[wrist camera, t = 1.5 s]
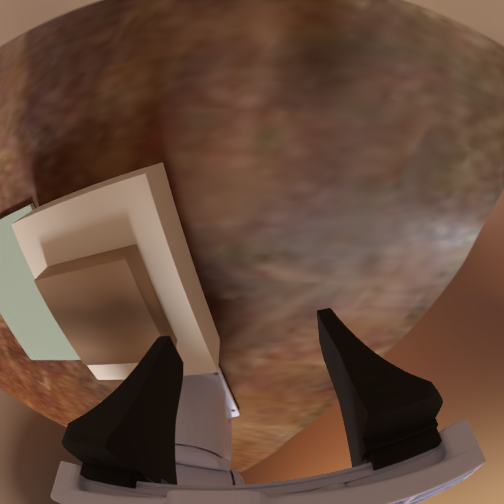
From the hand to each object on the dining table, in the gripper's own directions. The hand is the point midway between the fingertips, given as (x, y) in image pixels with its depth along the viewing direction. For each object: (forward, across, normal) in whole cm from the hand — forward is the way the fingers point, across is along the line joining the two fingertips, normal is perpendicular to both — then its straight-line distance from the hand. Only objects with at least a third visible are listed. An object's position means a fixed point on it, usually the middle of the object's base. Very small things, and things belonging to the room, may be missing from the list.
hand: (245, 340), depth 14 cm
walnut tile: (+5, +10, 0) cm, 11 cm away
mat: (+9, +23, 0) cm, 25 cm away
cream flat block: (+9, +10, 0) cm, 14 cm away
